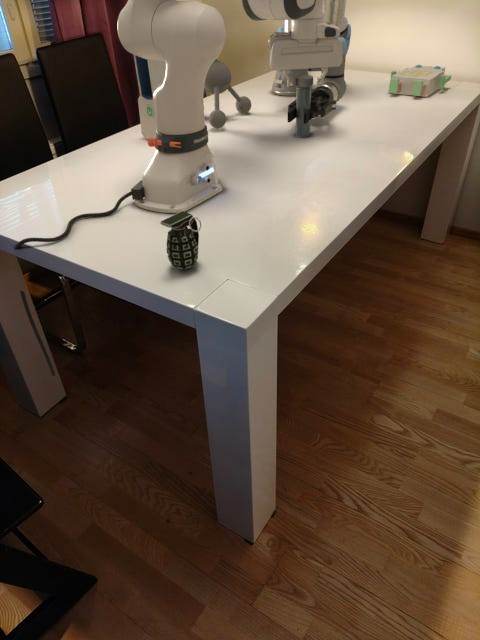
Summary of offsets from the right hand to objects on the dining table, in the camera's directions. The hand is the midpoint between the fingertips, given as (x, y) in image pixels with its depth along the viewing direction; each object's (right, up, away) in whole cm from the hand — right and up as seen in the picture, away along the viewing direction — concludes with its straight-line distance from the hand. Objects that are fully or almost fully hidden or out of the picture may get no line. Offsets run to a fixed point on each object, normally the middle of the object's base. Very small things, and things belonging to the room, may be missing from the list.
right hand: (296, 118), depth 141 cm
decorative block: (+50, +28, +43) cm, 72 cm away
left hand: (+2, +9, -1) cm, 9 cm away
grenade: (-27, -49, -50) cm, 75 cm away
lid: (+2, +11, -2) cm, 11 cm away
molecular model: (-22, +10, +25) cm, 35 cm away
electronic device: (-41, -2, +11) cm, 42 cm away
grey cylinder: (+3, -2, +8) cm, 8 cm away
